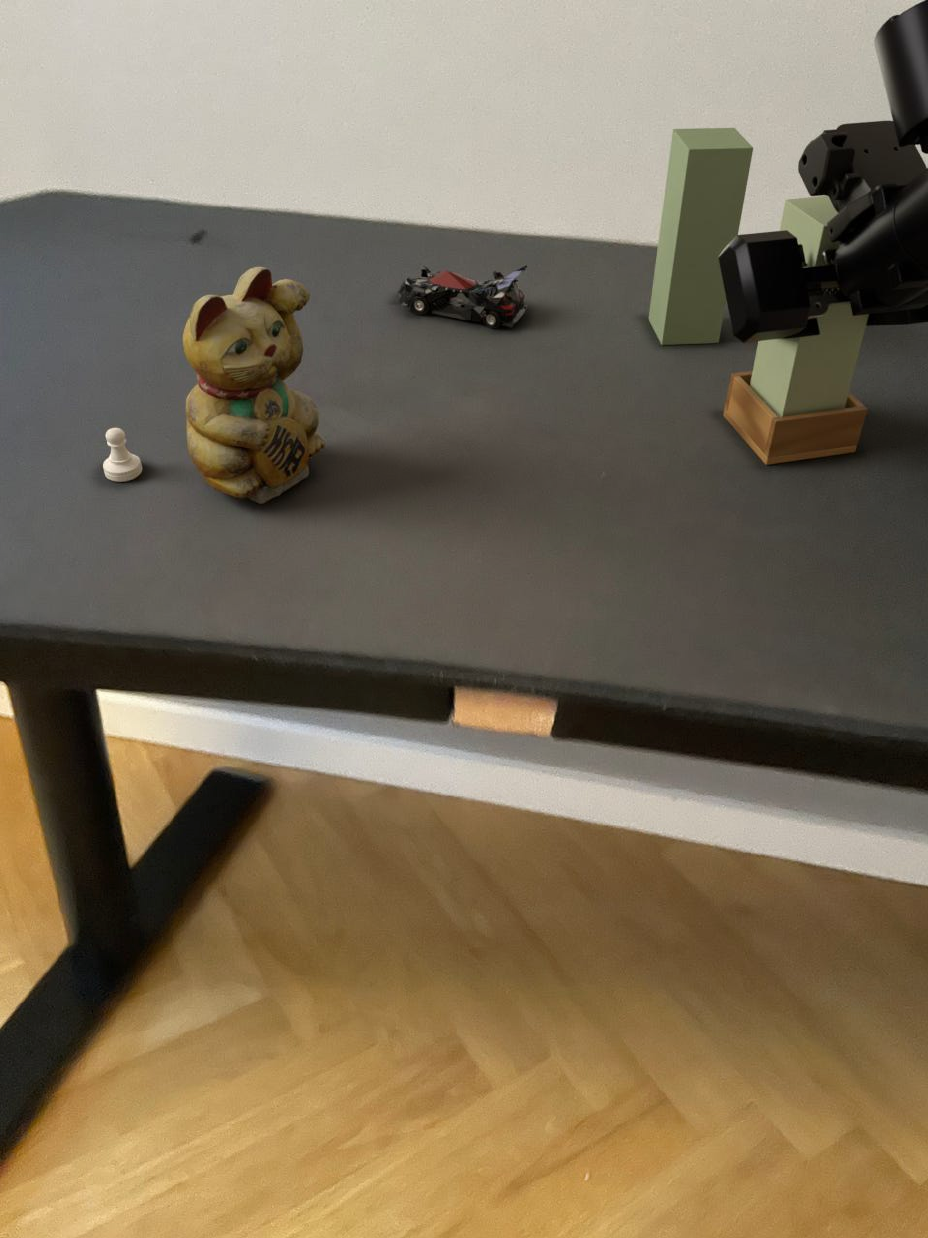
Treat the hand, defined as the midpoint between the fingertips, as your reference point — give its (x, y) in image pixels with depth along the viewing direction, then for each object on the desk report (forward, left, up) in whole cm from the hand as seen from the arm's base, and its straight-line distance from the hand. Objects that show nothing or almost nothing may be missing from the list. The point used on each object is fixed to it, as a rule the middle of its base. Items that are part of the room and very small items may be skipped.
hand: (802, 322), depth 75 cm
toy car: (+29, -13, -8) cm, 33 cm away
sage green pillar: (-1, +1, -8) cm, 8 cm away
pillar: (+9, -14, -8) cm, 18 cm away
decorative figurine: (+36, +17, -8) cm, 40 cm away
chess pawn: (+45, +19, -8) cm, 49 cm away
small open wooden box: (-1, +1, -8) cm, 8 cm away
